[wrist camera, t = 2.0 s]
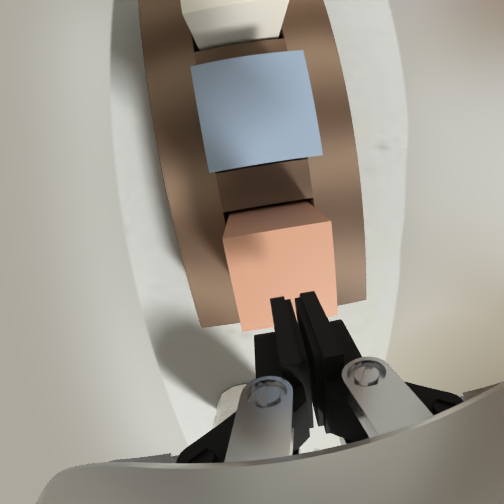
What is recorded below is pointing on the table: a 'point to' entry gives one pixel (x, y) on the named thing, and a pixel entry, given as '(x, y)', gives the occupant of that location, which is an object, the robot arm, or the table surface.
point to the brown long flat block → (255, 176)
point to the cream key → (233, 21)
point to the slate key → (256, 110)
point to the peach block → (279, 259)
